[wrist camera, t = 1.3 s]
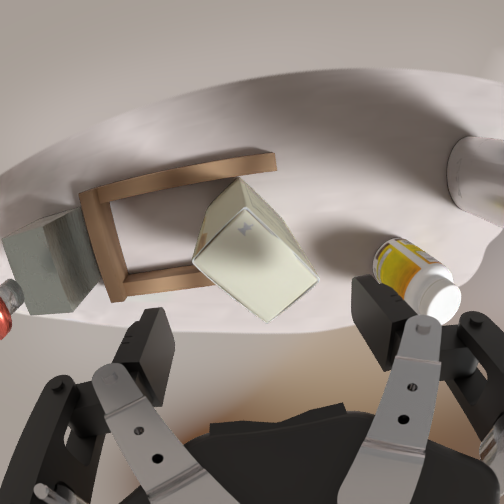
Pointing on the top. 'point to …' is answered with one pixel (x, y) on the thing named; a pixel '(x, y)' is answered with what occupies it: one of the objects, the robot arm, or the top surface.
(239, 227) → the skincare box
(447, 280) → the supplement bottle
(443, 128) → the top surface
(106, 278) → the rail
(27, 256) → the cabinet
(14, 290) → the button
